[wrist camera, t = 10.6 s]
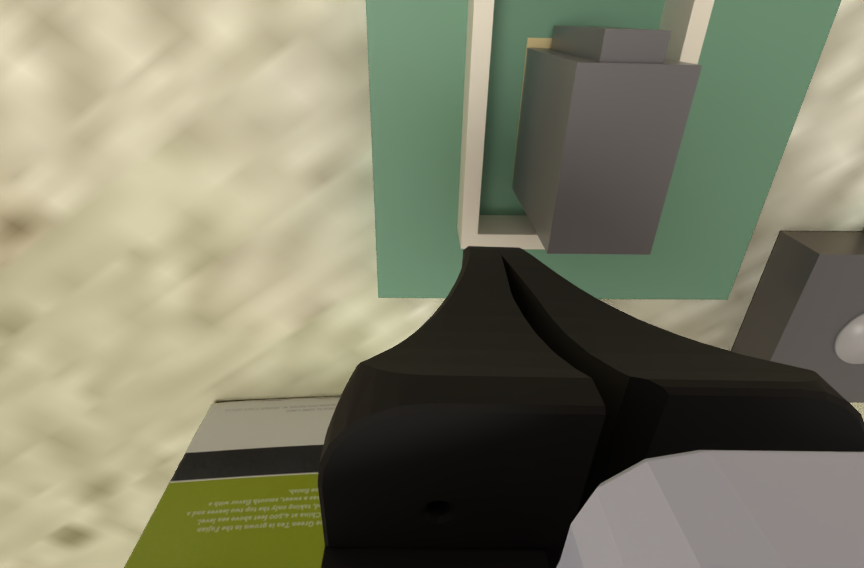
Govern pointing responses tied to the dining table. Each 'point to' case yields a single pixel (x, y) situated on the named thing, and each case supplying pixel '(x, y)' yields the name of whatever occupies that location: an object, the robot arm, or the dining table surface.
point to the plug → (600, 137)
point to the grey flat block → (811, 308)
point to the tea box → (244, 490)
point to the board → (499, 123)
